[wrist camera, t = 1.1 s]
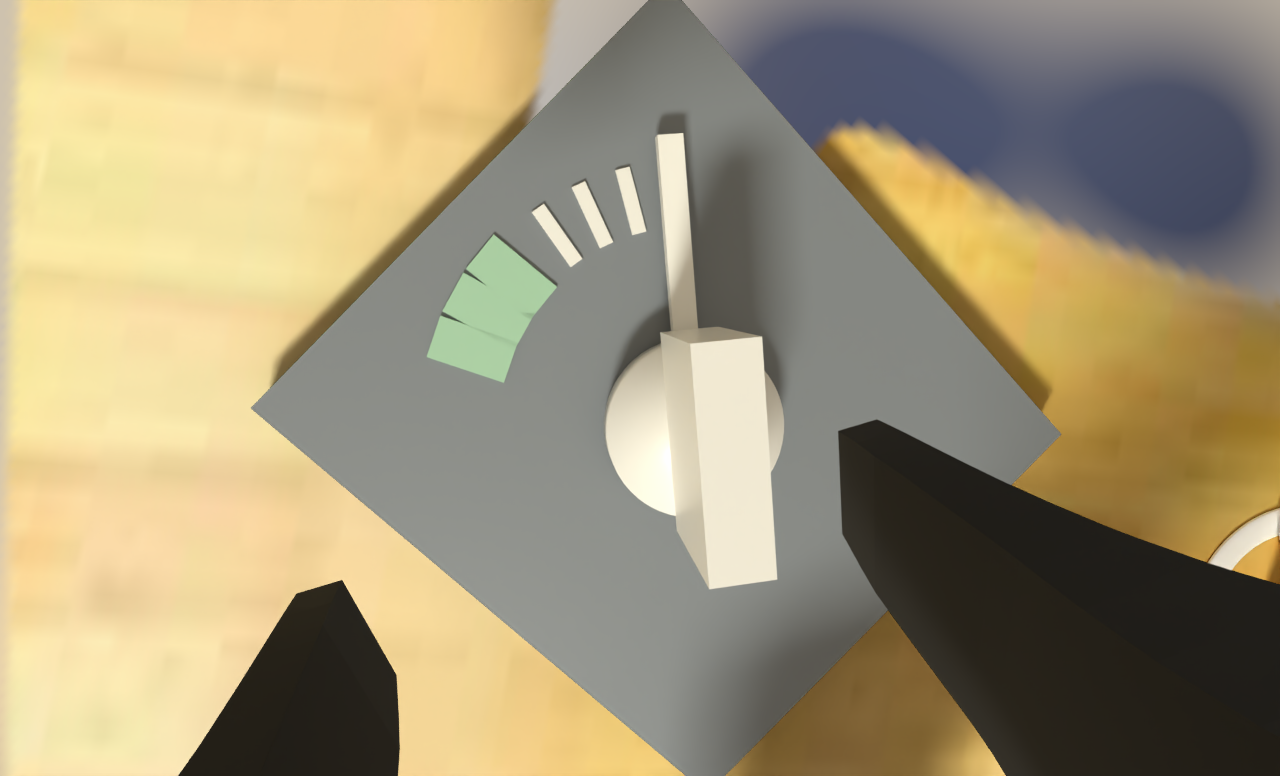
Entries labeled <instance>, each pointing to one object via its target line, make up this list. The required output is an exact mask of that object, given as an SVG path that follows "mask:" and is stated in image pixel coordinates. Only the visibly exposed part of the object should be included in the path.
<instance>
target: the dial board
mask: <svg viewBox="0 0 1280 776" xmlns="http://www.w3.org/2000/svg"><path fill="white" fill-rule="evenodd" d="M677 133H683V137H684V150H685V163H686V177H687V190H688V203H689V216H690V229H691V242H692V256H693V269H694V282H695V295H696V308H697V321H698V328H708V327H722V328H727V329H731V330H735V331H740V332H744V333H749V334H753V335H758V336H762V343H763V359H764V371H765V372H766V373H767V374H768V376H769V377H770V379H771V380H772V382H773V384H774V386H775V387H776V390H777V392H778V395H779V397H780V400H781V404H782V408H783V415H784V436H783V443H782V447H781V451H780V454H779V457H778V459H777V462H776V464H775V466H774V468H773V470H772V471H771V487H772V503H773V519H774V535H775V551H776V567H777V580H771V581H764V582H757V583H750V584H743V585H736V586H729V587H722V588H715V589H709V588H708V586H707V584H706V583H705V581H704V579H703V577H702V575H701V574H700V572H699V570H698V568H697V566H696V565H695V563H694V561H693V559H692V557H691V555H690V554H689V552H688V550H687V548H686V546H685V545H684V543H683V541H682V539H681V537H680V536H679V534H678V532H677V527H676V516H674V515H669V514H666V513H663V512H660V511H658V510H656V509H654V508H652V507H650V506H648V505H647V504H645V503H644V502H642V501H641V500H639V499H638V498H637V497H636V496H635V495H634V494H633V493H632V492H631V491H630V490H629V489H628V488H627V487H626V486H625V484H624V483H623V482H622V480H621V478H620V477H619V475H618V474H617V472H616V469H615V467H614V465H613V463H612V460H611V458H610V455H609V452H608V449H607V446H606V441H605V435H604V416H605V409H606V405H607V401H608V398H609V395H610V392H611V390H612V388H613V386H614V384H615V382H616V380H617V379H618V377H619V376H620V374H621V373H622V372H623V370H624V369H625V368H626V367H627V366H628V365H629V364H630V363H631V362H632V361H633V360H634V359H635V358H636V357H638V356H639V355H640V354H641V353H643V352H645V351H646V350H648V349H649V348H651V347H653V346H656V345H658V344H660V343H661V336H660V332H668V331H671V326H670V314H669V302H668V290H667V277H666V265H665V253H664V241H663V228H662V216H661V204H660V192H659V179H658V167H657V155H656V143H655V137H656V136H657V135H662V134H677ZM251 409H252V410H253V411H255V412H256V413H257V414H258V415H259V416H260V417H262V418H263V419H264V420H265V421H266V422H268V423H269V424H270V425H271V426H272V427H273V428H275V429H276V430H277V431H278V432H279V433H281V434H282V435H283V436H284V437H285V438H287V439H288V440H289V441H290V442H291V443H292V444H294V445H295V446H296V447H297V448H298V449H300V450H301V451H302V452H303V453H304V454H305V455H307V456H308V457H309V458H310V459H311V460H313V461H314V462H315V463H316V464H317V465H318V466H320V467H321V468H322V469H323V470H324V471H326V472H327V473H328V474H329V475H330V476H331V477H333V478H334V479H335V480H336V481H337V482H339V483H340V484H341V485H342V486H343V487H345V488H346V489H347V490H348V491H349V492H350V493H352V494H353V495H354V496H355V497H356V498H358V499H359V500H360V501H361V502H362V503H363V504H365V505H366V506H367V507H368V508H369V509H371V510H372V511H373V512H374V513H375V514H376V515H378V516H379V517H380V518H381V519H382V520H384V521H385V522H386V523H387V524H388V525H389V526H391V527H392V528H393V529H394V530H395V531H397V532H398V533H399V534H400V535H401V536H403V537H404V538H405V539H406V540H407V541H408V542H410V543H411V544H412V545H413V546H414V547H416V548H417V549H418V550H419V551H420V552H421V553H423V554H424V555H425V556H426V557H427V558H429V559H430V560H431V561H432V562H433V563H434V564H436V565H437V566H438V567H439V568H440V569H442V570H443V571H444V572H445V573H446V574H447V575H449V576H450V577H451V578H452V579H453V580H455V581H456V582H457V583H458V584H459V585H461V586H462V587H463V588H464V589H465V590H466V591H468V592H469V593H470V594H471V595H472V596H474V597H475V598H476V599H477V600H478V601H479V602H481V603H482V604H483V605H484V606H485V607H487V608H488V609H489V610H490V611H491V612H492V613H494V614H495V615H496V616H497V617H498V618H500V619H501V620H502V621H503V622H504V623H505V624H507V625H508V626H509V627H510V628H511V629H513V630H514V631H515V632H516V633H517V634H519V635H520V636H521V637H522V638H523V639H524V640H526V641H527V642H528V643H529V644H530V645H532V646H533V647H534V648H535V649H536V650H537V651H539V652H540V653H541V654H542V655H543V656H545V657H546V658H547V659H548V660H549V661H550V662H552V663H553V664H554V665H555V666H556V667H558V668H559V669H560V670H561V671H562V672H564V673H565V674H566V675H567V676H568V677H569V678H571V679H572V680H573V681H574V682H575V683H577V684H578V685H579V686H580V687H581V688H582V689H584V690H585V691H586V692H587V693H588V694H590V695H591V696H592V697H593V698H594V699H595V700H597V701H598V702H599V703H600V704H601V705H603V706H604V707H605V708H606V709H607V710H608V711H610V712H611V713H612V714H613V715H614V716H616V717H617V718H618V719H619V720H620V721H622V722H623V723H624V724H625V725H626V726H627V727H629V728H630V729H631V730H632V731H633V732H635V733H636V734H637V735H638V736H639V737H640V738H642V739H643V740H644V741H645V742H646V743H648V744H649V745H650V746H651V747H652V748H653V749H655V750H656V751H657V752H658V753H659V754H661V755H662V756H663V757H664V758H665V759H666V760H668V761H669V762H670V763H671V764H672V765H674V766H675V767H676V768H677V769H678V770H680V771H681V772H682V773H683V774H684V775H685V776H725V775H726V774H727V773H728V772H729V771H730V770H731V769H732V768H733V767H734V766H735V765H736V764H737V763H738V762H739V761H740V760H741V759H742V758H743V757H744V756H745V755H746V754H747V753H748V752H749V751H750V750H751V749H752V748H753V747H754V746H755V745H756V744H757V743H758V742H759V741H760V740H761V739H762V738H763V737H764V736H765V735H766V734H767V733H768V732H769V731H770V730H771V729H772V728H773V727H774V726H775V725H776V724H777V723H778V722H779V721H780V720H781V719H782V718H783V717H784V715H785V714H786V713H787V712H788V711H789V710H790V709H791V708H792V707H793V706H794V705H795V704H796V703H797V702H798V701H799V700H800V699H801V698H802V697H803V696H804V695H805V694H806V693H807V692H808V691H809V690H810V689H811V688H812V687H813V686H814V685H815V684H816V683H817V682H818V681H819V680H820V679H821V678H822V677H823V676H824V675H825V674H826V673H827V672H828V671H829V670H830V669H831V668H832V667H833V666H834V665H835V664H836V663H837V662H838V661H839V660H840V659H841V658H842V657H843V656H844V655H845V654H846V652H847V651H848V650H849V649H850V648H851V647H852V646H853V645H854V644H855V643H856V642H857V641H858V640H859V639H860V638H861V637H862V636H863V635H864V634H865V633H866V632H867V631H868V630H869V629H870V628H871V627H872V626H873V625H874V624H875V623H876V622H877V621H878V620H879V619H880V618H881V617H882V616H883V615H884V614H885V613H886V612H887V611H888V609H887V608H886V607H885V605H884V604H883V603H882V601H881V600H880V598H879V597H878V596H877V594H876V593H875V591H874V589H873V588H872V586H871V584H870V583H869V581H868V579H867V577H866V576H865V574H864V572H863V570H862V569H861V567H860V565H859V563H858V562H857V560H856V558H855V556H854V554H853V552H852V551H851V549H850V547H849V545H848V543H847V541H846V540H845V538H844V536H843V534H842V517H841V492H840V467H839V441H838V431H839V430H843V429H846V428H849V427H853V426H856V425H859V424H863V423H866V422H869V421H873V420H876V419H877V420H880V421H882V422H884V423H886V424H888V425H890V426H892V427H894V428H896V429H899V430H901V431H903V432H905V433H907V434H909V435H911V436H913V437H915V438H917V439H918V440H920V441H922V442H924V443H926V444H928V445H930V446H932V447H934V448H936V449H938V450H940V451H942V452H944V453H946V454H948V455H950V456H952V457H954V458H956V459H958V460H960V461H962V462H964V463H966V464H968V465H970V466H972V467H974V468H977V469H979V470H981V471H983V472H985V473H987V474H989V475H991V476H993V477H995V478H997V479H999V480H1001V481H1004V482H1006V483H1008V484H1010V485H1012V484H1013V483H1014V482H1015V481H1016V480H1017V479H1018V478H1019V477H1020V476H1021V475H1022V474H1023V473H1024V472H1025V471H1026V470H1027V469H1028V468H1029V467H1030V466H1031V465H1032V464H1033V463H1034V462H1035V460H1036V459H1037V458H1038V457H1039V456H1040V455H1041V454H1042V453H1043V452H1044V451H1045V450H1046V449H1047V448H1048V447H1049V446H1050V445H1051V444H1052V443H1053V442H1054V441H1055V440H1056V439H1057V438H1058V437H1059V436H1060V435H1061V433H1060V432H1059V431H1058V430H1057V429H1056V428H1055V426H1054V425H1053V424H1052V423H1051V422H1050V421H1049V420H1048V418H1047V417H1046V416H1045V415H1044V414H1043V413H1042V412H1041V410H1040V409H1039V408H1038V407H1037V406H1036V405H1035V404H1034V402H1033V401H1032V400H1031V399H1030V398H1029V397H1028V396H1027V394H1026V393H1025V392H1024V391H1023V390H1022V389H1021V388H1020V386H1019V385H1018V384H1017V383H1016V382H1015V381H1014V380H1013V378H1012V377H1011V376H1010V375H1009V374H1008V373H1007V372H1006V370H1005V369H1004V368H1003V367H1002V366H1001V365H1000V364H999V362H998V361H997V360H996V359H995V358H994V357H993V356H992V354H991V353H990V352H989V351H988V350H987V349H986V348H985V346H984V345H983V344H982V343H981V342H980V341H979V340H978V338H977V337H976V336H975V335H974V334H973V333H972V332H971V330H970V329H969V328H968V327H967V326H966V325H965V324H964V322H963V321H962V320H961V319H960V318H959V317H958V316H957V314H956V313H955V312H954V311H953V310H952V309H951V308H950V306H949V305H948V304H947V303H946V302H945V301H944V300H943V298H942V297H941V296H940V295H939V294H938V293H937V292H936V290H935V289H934V288H933V287H932V286H931V285H930V284H929V282H928V281H927V280H926V279H925V278H924V277H923V276H922V274H921V273H920V272H919V271H918V270H917V269H916V268H915V266H914V265H913V264H912V263H911V262H910V261H909V260H908V258H907V257H906V256H905V255H904V254H903V253H902V252H901V250H900V249H899V248H898V247H897V246H896V245H895V244H894V242H893V241H892V240H891V239H890V238H889V237H888V236H887V234H886V233H885V232H884V231H883V230H882V229H881V228H880V226H879V225H878V224H877V223H876V222H875V221H874V220H873V218H872V217H871V216H870V215H869V214H868V213H867V212H866V210H865V209H864V208H863V207H862V206H861V205H860V204H859V202H858V201H857V200H856V199H855V198H854V197H853V196H852V194H851V193H850V192H849V191H848V190H847V189H846V188H845V186H844V185H843V184H842V183H841V182H840V181H839V180H838V178H837V177H836V176H835V175H834V174H833V173H832V172H831V170H830V169H829V168H828V167H827V166H826V165H825V164H824V162H823V161H822V160H821V159H820V158H819V157H818V156H817V154H816V153H815V152H814V151H813V150H812V149H811V148H810V146H809V145H808V144H807V143H806V142H805V141H804V140H803V139H802V137H801V136H800V135H799V134H798V133H797V132H796V130H795V129H794V128H793V127H792V126H791V125H790V124H789V122H787V120H786V119H785V118H784V117H783V116H782V115H781V113H780V112H779V111H778V110H777V109H776V108H775V106H774V105H773V104H772V103H771V102H770V101H769V100H768V99H767V97H766V96H765V95H764V94H763V93H762V92H761V91H760V89H759V88H758V87H757V86H756V85H755V84H754V82H752V80H751V79H750V78H749V77H748V76H747V74H746V73H745V72H744V71H743V70H742V69H741V68H740V66H739V65H738V64H737V63H736V62H735V61H734V60H733V58H732V57H731V56H730V55H729V54H728V53H727V52H726V50H725V49H724V48H723V47H722V46H721V45H720V44H719V42H718V41H717V40H716V39H715V38H714V37H713V36H712V34H711V33H710V32H709V31H708V30H707V29H706V28H705V26H704V25H703V24H702V23H701V22H700V21H699V20H698V18H697V17H696V16H695V15H694V14H693V13H692V12H691V10H690V9H689V8H688V7H687V6H686V5H685V3H684V2H683V1H682V0H648V2H647V3H646V4H645V5H644V6H643V7H642V8H641V9H640V10H639V11H638V12H637V13H636V14H635V15H634V16H633V17H632V18H631V19H630V20H629V21H628V22H627V23H626V24H625V25H624V26H623V27H622V28H621V29H620V30H619V31H618V32H617V34H615V36H613V37H612V38H611V39H610V40H609V42H608V43H607V44H606V45H605V46H604V47H603V48H602V49H601V50H600V51H599V52H598V53H597V54H596V55H595V56H594V57H593V58H592V59H591V60H590V61H589V62H588V63H587V64H586V65H585V66H584V67H583V68H582V69H581V70H580V71H579V72H578V73H577V74H576V75H575V77H573V78H572V79H571V80H570V82H569V83H567V85H566V86H565V87H564V88H563V89H562V90H561V91H560V92H559V93H558V94H557V95H556V96H555V97H554V98H553V99H552V100H551V101H550V102H549V103H548V104H547V105H546V106H545V107H544V108H543V109H542V110H541V111H540V112H539V113H538V114H537V115H536V116H535V117H534V118H533V119H532V120H531V121H530V122H529V123H528V124H527V126H526V127H525V128H524V129H523V130H522V131H521V132H520V133H519V134H518V135H517V136H516V137H515V138H514V139H513V140H512V141H511V142H510V143H509V144H508V145H507V146H506V147H505V148H504V149H503V150H502V151H501V152H500V153H499V154H498V155H497V156H496V157H495V158H494V159H493V160H492V161H491V162H490V163H489V164H488V165H487V167H486V168H485V169H484V170H483V171H482V172H481V173H480V174H479V175H478V176H477V177H476V178H475V179H474V180H473V181H472V182H471V183H470V184H469V185H468V186H467V187H466V188H465V189H464V190H463V191H462V192H461V193H460V194H459V195H458V196H457V197H456V198H455V199H454V200H453V201H452V202H451V203H450V204H449V205H448V206H447V208H446V209H445V210H444V211H443V212H442V213H441V214H440V215H439V216H438V217H437V218H436V219H435V220H434V221H433V222H432V223H431V224H430V225H429V226H428V227H427V228H426V229H425V230H424V231H423V232H422V233H421V234H420V235H419V236H418V237H417V238H416V239H415V240H414V241H413V242H412V243H411V244H410V245H409V246H408V247H407V248H406V250H405V251H404V252H403V253H402V254H401V255H400V256H399V257H398V258H397V259H396V260H395V261H394V262H393V263H392V264H391V265H390V266H389V267H388V268H387V269H386V270H385V271H384V272H383V273H382V274H381V275H380V276H379V277H378V278H377V279H376V280H375V281H374V282H373V283H372V284H371V285H370V286H369V287H368V288H367V289H366V291H365V292H364V293H363V294H362V295H361V296H360V297H359V298H358V299H357V300H356V301H355V302H354V303H353V304H352V305H351V306H350V307H349V308H348V309H347V310H346V311H345V312H344V313H343V314H342V315H341V316H340V317H339V318H338V319H337V320H336V321H335V322H334V323H333V324H332V325H331V326H330V327H329V328H328V329H327V330H326V332H325V333H324V334H323V335H322V336H321V337H320V338H319V339H318V340H317V341H316V342H315V343H314V344H313V345H312V346H311V347H310V348H309V349H308V350H307V351H306V352H305V353H304V354H303V355H302V356H301V357H300V358H299V359H298V360H297V361H296V362H295V363H294V364H293V365H292V366H291V367H290V368H289V369H288V370H287V371H286V373H285V374H284V375H283V376H282V377H281V378H280V379H279V380H278V381H277V382H276V383H275V384H274V385H273V386H272V387H271V388H270V389H269V390H268V391H267V392H266V393H265V394H264V395H263V396H262V397H261V398H260V399H259V400H258V401H257V402H256V403H255V404H254V405H253V406H252V407H251Z"/></svg>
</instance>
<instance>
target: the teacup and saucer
mask: <svg viewBox="0 0 1280 776" xmlns="http://www.w3.org/2000/svg"><path fill="white" fill-rule="evenodd" d="M1276 536H1279V538H1280V508H1278V509H1275V510H1272V511H1269V512H1266V513H1264V514H1262V515H1260V516H1258V517H1256V518H1254V519H1252V520H1250V521H1249V522H1247V523H1246V524H1244V525H1243V526H1241V527H1240V528H1239V529H1237V530H1236V531H1235V532H1234V533H1233V534H1231V535H1230V536H1229V537H1228V538H1227V539H1226V540H1225V541H1224V542H1223V543H1222V544H1221V545H1220V547H1219V548H1218V549H1217V550H1216V551H1215V553H1214V554H1213V555H1212V557H1211V558H1210V560H1209V561H1208V563H1210V564H1213V565H1216V566H1219V567H1223V568H1226V569H1229V570H1232V569H1233V568H1234V566H1235V565H1236V564H1237V563H1238V562H1239V560H1240V559H1241V558H1242V557H1243V556H1245V555H1246V554H1247V553H1248V552H1249V551H1250V550H1252V549H1253V548H1254V547H1256V546H1257V545H1259V544H1261V543H1263V542H1264V541H1266V540H1269V539H1271V538H1274V537H1276Z"/></svg>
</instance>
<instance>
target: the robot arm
mask: <svg viewBox="0 0 1280 776" xmlns="http://www.w3.org/2000/svg"><path fill="white" fill-rule="evenodd" d="M838 441H839V467H840V492H841V517H842V534H843V536H844V538H845V540H846V541H847V543H848V545H849V547H850V549H851V551H852V552H853V554H854V556H855V558H856V560H857V562H858V563H859V565H860V567H861V569H862V570H863V572H864V574H865V576H866V577H867V579H868V581H869V583H870V584H871V586H872V588H873V589H874V591H875V593H876V594H877V596H878V597H879V598H880V600H881V601H882V603H883V604H884V605H885V607H886V608H887V609H888V611H889V612H890V614H891V615H892V616H893V618H894V619H895V620H896V622H897V623H898V624H899V626H900V627H901V629H902V630H903V631H904V633H905V634H906V635H907V637H908V638H909V639H910V641H911V642H912V643H913V645H914V646H915V648H916V649H917V650H918V652H919V653H920V654H921V656H922V657H923V658H924V660H925V661H926V662H927V664H928V665H929V666H930V668H931V669H932V670H933V672H934V673H935V674H936V676H937V677H938V678H939V680H940V681H941V683H942V684H943V685H944V687H945V688H946V689H947V691H948V692H949V693H950V695H951V696H952V697H953V699H954V700H955V701H956V703H957V704H958V705H959V707H960V708H961V709H962V711H963V712H964V713H965V715H966V716H967V717H968V719H969V720H970V722H971V723H972V724H973V726H974V727H975V729H976V730H977V732H978V733H979V735H980V736H981V738H982V739H983V740H984V742H985V743H986V745H987V746H988V748H989V749H990V751H991V752H992V754H993V755H994V757H995V758H996V760H997V762H998V763H999V765H1000V767H1001V768H1002V770H1003V772H1004V773H1005V775H1006V776H1280V584H1276V583H1273V582H1269V581H1266V580H1262V579H1259V578H1255V577H1252V576H1248V575H1245V574H1242V573H1238V572H1235V571H1232V570H1229V569H1226V568H1223V567H1219V566H1216V565H1213V564H1210V563H1207V562H1204V561H1201V560H1198V559H1195V558H1192V557H1189V556H1187V555H1184V554H1181V553H1178V552H1175V551H1172V550H1169V549H1167V548H1164V547H1161V546H1158V545H1155V544H1152V543H1150V542H1147V541H1144V540H1141V539H1138V538H1135V537H1133V536H1130V535H1128V534H1125V533H1122V532H1120V531H1117V530H1115V529H1112V528H1109V527H1107V526H1104V525H1102V524H1100V523H1097V522H1095V521H1092V520H1090V519H1088V518H1085V517H1083V516H1080V515H1078V514H1076V513H1073V512H1071V511H1068V510H1066V509H1064V508H1061V507H1059V506H1056V505H1054V504H1052V503H1050V502H1047V501H1045V500H1043V499H1041V498H1038V497H1036V496H1034V495H1032V494H1029V493H1027V492H1025V491H1023V490H1021V489H1019V488H1016V487H1014V486H1012V485H1010V484H1008V483H1006V482H1004V481H1001V480H999V479H997V478H995V477H993V476H991V475H989V474H987V473H985V472H983V471H981V470H979V469H977V468H974V467H972V466H970V465H968V464H966V463H964V462H962V461H960V460H958V459H956V458H954V457H952V456H950V455H948V454H946V453H944V452H942V451H940V450H938V449H936V448H934V447H932V446H930V445H928V444H926V443H924V442H922V441H920V440H918V439H917V438H915V437H913V436H911V435H909V434H907V433H905V432H903V431H901V430H899V429H896V428H894V427H892V426H890V425H888V424H886V423H884V422H882V421H880V420H877V419H876V420H873V421H869V422H866V423H863V424H859V425H856V426H853V427H849V428H846V429H843V430H839V431H838ZM399 750H400V743H399V713H398V695H397V677H396V674H395V672H394V670H393V668H392V667H391V665H390V663H389V661H388V660H387V658H386V656H385V654H384V653H383V651H382V649H381V647H380V646H379V644H378V642H377V640H376V639H375V637H374V635H373V633H372V632H371V630H370V628H369V626H368V625H367V623H366V621H365V619H364V618H363V616H362V614H361V612H360V611H359V609H358V607H357V605H356V604H355V602H354V600H353V598H352V597H351V595H350V593H349V591H348V590H347V588H346V586H345V584H344V583H343V581H342V580H341V581H337V582H334V583H331V584H327V585H324V586H321V587H317V588H314V589H311V590H307V591H304V592H301V593H297V594H296V595H295V597H294V598H293V600H292V601H291V603H290V604H289V606H288V607H287V609H286V611H285V612H284V614H283V615H282V617H281V618H280V620H279V622H278V623H277V625H276V626H275V628H274V630H273V631H272V633H271V634H270V636H269V638H268V639H267V641H266V642H265V644H264V646H263V647H262V649H261V650H260V652H259V654H258V655H257V657H256V658H255V660H254V662H253V663H252V665H251V666H250V668H249V670H248V671H247V673H246V674H245V676H244V678H243V679H242V681H241V682H240V684H239V685H238V687H237V689H236V690H235V692H234V693H233V695H232V696H231V698H230V699H229V701H228V702H227V704H226V706H225V707H224V709H223V710H222V712H221V713H220V715H219V716H218V718H217V719H216V721H215V723H214V724H213V726H212V727H211V729H210V730H209V732H208V733H207V735H206V736H205V738H204V739H203V741H202V743H201V744H200V746H199V747H198V748H197V750H196V751H195V753H194V754H193V756H192V757H191V758H190V760H189V761H188V763H187V764H186V766H185V767H184V768H183V770H182V771H181V773H180V774H179V776H398V765H399Z"/></svg>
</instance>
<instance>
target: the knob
mask: <svg viewBox="0 0 1280 776" xmlns="http://www.w3.org/2000/svg"><path fill="white" fill-rule="evenodd" d="M655 143H656V155H657V167H658V179H659V192H660V204H661V216H662V228H663V241H664V253H665V265H666V277H667V290H668V302H669V314H670V326H671V331H668V332H660V336H661V343H660V344H658V345H656V346H653V347H651V348H649V349H648V350H646V351H645V352H643V353H641V354H640V355H639V356H638V357H636V358H635V359H634V360H633V361H632V362H631V363H630V364H629V365H628V366H627V367H626V368H625V369H624V370H623V372H622V373H621V374H620V376H619V377H618V379H617V380H616V382H615V384H614V386H613V388H612V390H611V392H610V395H609V398H608V401H607V405H606V409H605V416H604V435H605V441H606V446H607V449H608V452H609V455H610V458H611V460H612V463H613V465H614V467H615V469H616V472H617V474H618V475H619V477H620V478H621V480H622V482H623V483H624V484H625V486H626V487H627V488H628V489H629V490H630V491H631V492H632V493H633V494H634V495H635V496H636V497H637V498H638V499H639V500H641V501H642V502H644V503H645V504H647V505H648V506H650V507H652V508H654V509H656V510H658V511H660V512H663V513H666V514H669V515H674V516H676V527H677V532H678V534H679V536H680V537H681V539H682V541H683V543H684V545H685V546H686V548H687V550H688V552H689V554H690V555H691V557H692V559H693V561H694V563H695V565H696V566H697V568H698V570H699V572H700V574H701V575H702V577H703V579H704V581H705V583H706V584H707V586H708V588H709V589H715V588H722V587H729V586H736V585H743V584H750V583H757V582H764V581H771V580H777V567H776V551H775V535H774V519H773V503H772V487H771V471H772V470H773V468H774V466H775V464H776V462H777V459H778V457H779V454H780V451H781V447H782V443H783V436H784V415H783V408H782V404H781V400H780V397H779V395H778V392H777V390H776V387H775V386H774V384H773V382H772V380H771V379H770V377H769V376H768V374H767V373H766V372H765V371H764V359H763V343H762V336H758V335H753V334H749V333H744V332H740V331H735V330H731V329H727V328H722V327H708V328H698V321H697V308H696V295H695V282H694V269H693V256H692V242H691V229H690V216H689V203H688V190H687V177H686V163H685V150H684V137H683V133H677V134H662V135H657V136H656V137H655Z"/></svg>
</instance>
